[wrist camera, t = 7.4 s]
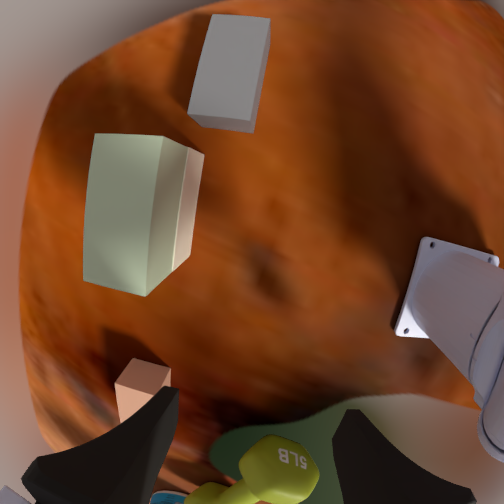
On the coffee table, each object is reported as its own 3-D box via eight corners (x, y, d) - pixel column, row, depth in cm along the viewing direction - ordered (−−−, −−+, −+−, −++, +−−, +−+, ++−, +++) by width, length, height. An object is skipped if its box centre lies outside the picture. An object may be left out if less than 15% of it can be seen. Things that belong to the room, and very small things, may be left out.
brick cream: (204, 154, 19) (189, 147, 15) (190, 255, 20) (172, 271, 16) (157, 150, 19) (132, 142, 15) (145, 247, 20) (120, 260, 16)
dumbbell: (258, 419, 23) (254, 480, 16) (323, 444, 24) (332, 499, 17) (184, 481, 27) (172, 524, 20) (238, 500, 27) (234, 542, 20)
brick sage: (188, 147, 15) (163, 136, 11) (171, 271, 16) (145, 296, 12) (131, 143, 15) (94, 133, 11) (119, 260, 16) (83, 280, 12)
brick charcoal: (270, 46, 17) (270, 18, 13) (253, 133, 18) (249, 120, 14) (221, 41, 17) (212, 14, 13) (202, 127, 18) (187, 113, 14)
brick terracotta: (171, 367, 23) (156, 396, 19) (170, 420, 24) (159, 448, 20) (133, 357, 23) (114, 383, 19) (137, 410, 24) (123, 437, 20)
